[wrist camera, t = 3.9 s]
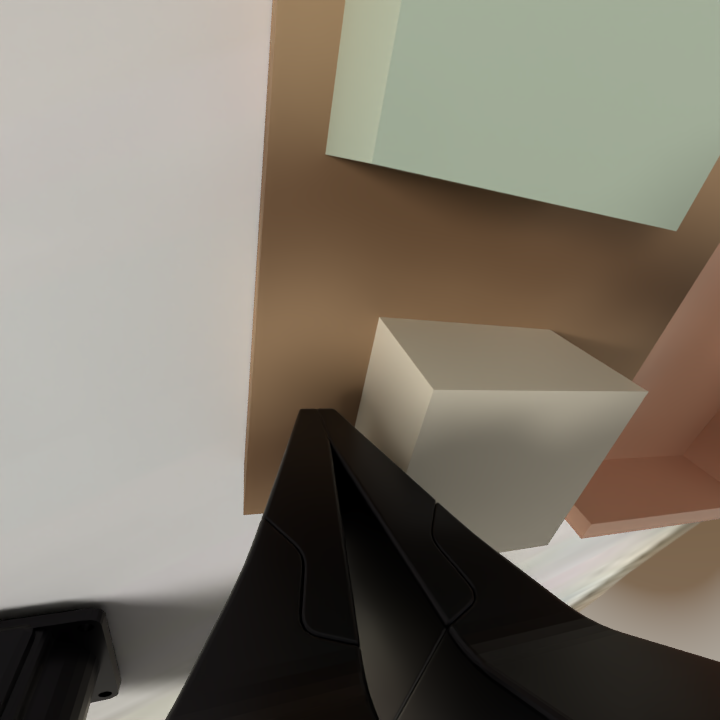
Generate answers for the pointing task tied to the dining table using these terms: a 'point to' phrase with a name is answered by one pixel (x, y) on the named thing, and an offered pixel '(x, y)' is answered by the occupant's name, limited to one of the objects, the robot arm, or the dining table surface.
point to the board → (422, 257)
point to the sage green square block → (537, 98)
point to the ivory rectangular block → (493, 421)
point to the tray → (666, 430)
